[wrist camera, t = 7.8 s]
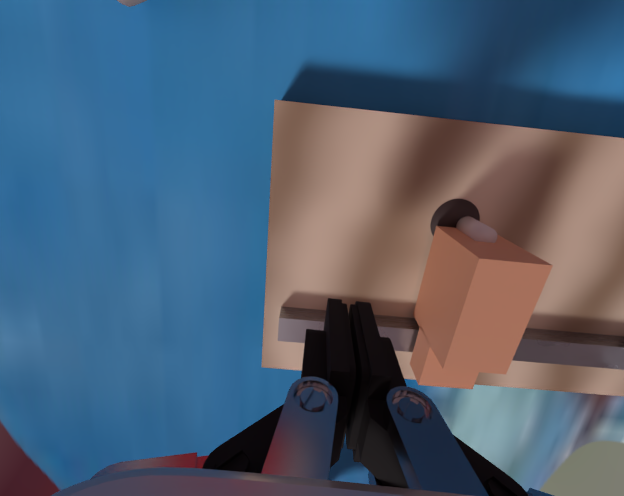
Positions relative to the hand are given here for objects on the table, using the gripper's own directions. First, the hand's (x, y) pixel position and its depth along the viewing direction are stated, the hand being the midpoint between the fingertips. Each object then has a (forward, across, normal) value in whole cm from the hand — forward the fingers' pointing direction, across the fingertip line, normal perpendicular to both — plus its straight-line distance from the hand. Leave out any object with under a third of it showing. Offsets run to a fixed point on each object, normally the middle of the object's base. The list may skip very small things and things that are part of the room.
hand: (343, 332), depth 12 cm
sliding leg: (+6, -6, 0) cm, 9 cm away
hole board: (+8, -10, -1) cm, 13 cm away
